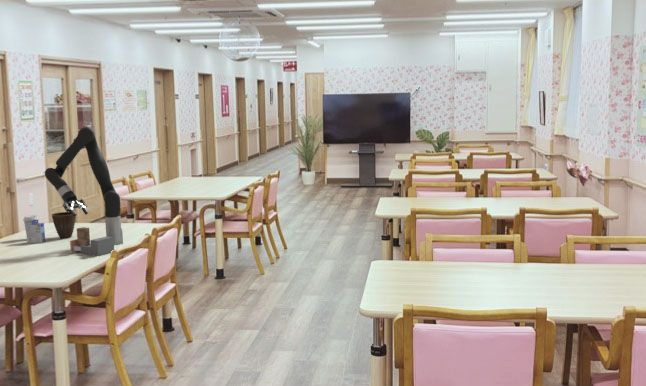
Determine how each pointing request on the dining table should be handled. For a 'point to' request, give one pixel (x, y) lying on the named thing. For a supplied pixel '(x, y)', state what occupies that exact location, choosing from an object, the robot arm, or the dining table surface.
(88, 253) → the block
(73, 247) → the dock tray
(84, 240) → the walnut block
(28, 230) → the ink cartridge box
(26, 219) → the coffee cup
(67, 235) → the plant pot
